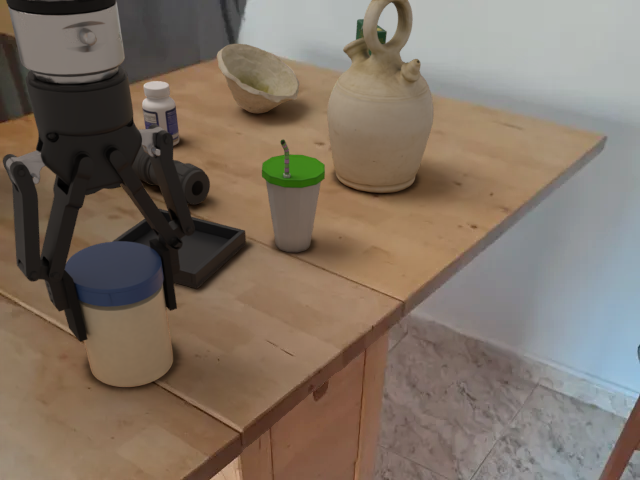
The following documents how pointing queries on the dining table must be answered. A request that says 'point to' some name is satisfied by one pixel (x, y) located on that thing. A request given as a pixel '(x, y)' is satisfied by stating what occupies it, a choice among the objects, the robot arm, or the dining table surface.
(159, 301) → the jar
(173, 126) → the pill bottle
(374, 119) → the jug
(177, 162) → the flashlight
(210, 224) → the tray
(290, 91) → the bowl
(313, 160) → the cup
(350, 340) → the dining table surface
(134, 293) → the lid
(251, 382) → the dining table surface
